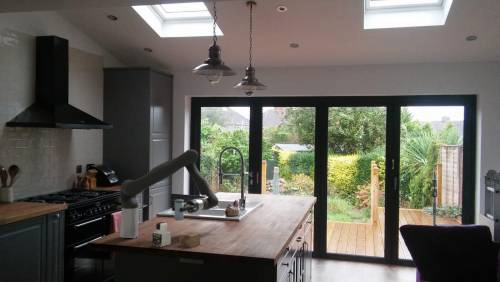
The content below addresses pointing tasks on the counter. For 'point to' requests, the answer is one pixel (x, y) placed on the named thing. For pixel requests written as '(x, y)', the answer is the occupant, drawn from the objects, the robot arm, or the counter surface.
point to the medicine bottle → (161, 235)
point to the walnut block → (189, 239)
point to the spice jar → (179, 204)
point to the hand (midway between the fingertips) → (176, 209)
